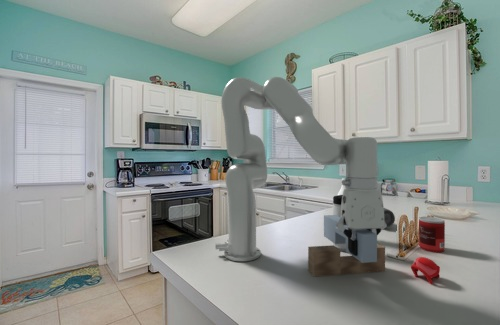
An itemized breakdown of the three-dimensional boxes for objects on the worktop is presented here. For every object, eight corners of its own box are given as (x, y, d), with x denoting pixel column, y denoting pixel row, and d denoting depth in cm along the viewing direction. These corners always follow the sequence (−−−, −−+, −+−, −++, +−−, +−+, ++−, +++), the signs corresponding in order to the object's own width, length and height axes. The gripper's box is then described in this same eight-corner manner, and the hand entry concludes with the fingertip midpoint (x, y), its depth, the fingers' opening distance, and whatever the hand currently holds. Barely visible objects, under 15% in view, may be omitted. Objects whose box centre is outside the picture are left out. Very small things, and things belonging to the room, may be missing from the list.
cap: (429, 276, 63) (446, 262, 64) (407, 260, 68) (423, 247, 69) (430, 292, 67) (446, 279, 68) (410, 276, 72) (424, 264, 73)
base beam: (313, 276, 70) (313, 251, 70) (308, 270, 74) (308, 246, 74) (385, 271, 73) (385, 247, 73) (376, 265, 77) (376, 242, 77)
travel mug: (353, 252, 88) (353, 195, 87) (334, 251, 89) (334, 195, 89) (350, 246, 94) (350, 193, 93) (332, 245, 95) (331, 193, 95)
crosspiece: (377, 261, 62) (377, 234, 62) (362, 262, 62) (362, 234, 62) (335, 235, 84) (335, 215, 84) (323, 236, 84) (323, 215, 84)
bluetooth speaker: (351, 218, 137) (351, 200, 137) (367, 218, 138) (367, 200, 138) (377, 230, 115) (377, 208, 115) (396, 229, 116) (396, 208, 116)
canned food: (441, 246, 93) (441, 217, 93) (447, 254, 86) (447, 222, 85) (416, 244, 96) (416, 215, 96) (421, 251, 89) (421, 220, 89)
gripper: (338, 186, 61) (338, 261, 61) (400, 185, 63) (400, 256, 63) (325, 183, 68) (325, 250, 68) (380, 182, 70) (380, 246, 71)
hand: (361, 252), depth 66 cm, fingers closed on crosspiece, 4 cm apart
